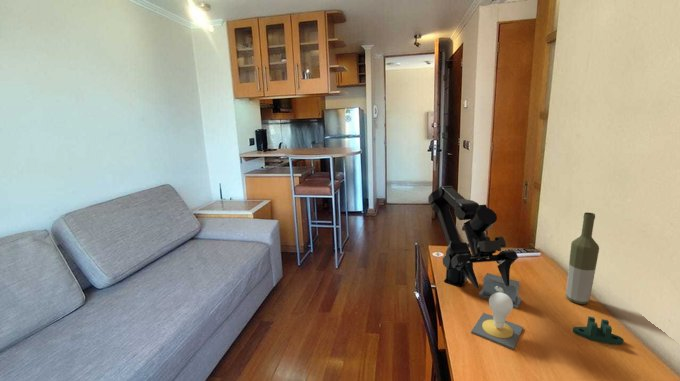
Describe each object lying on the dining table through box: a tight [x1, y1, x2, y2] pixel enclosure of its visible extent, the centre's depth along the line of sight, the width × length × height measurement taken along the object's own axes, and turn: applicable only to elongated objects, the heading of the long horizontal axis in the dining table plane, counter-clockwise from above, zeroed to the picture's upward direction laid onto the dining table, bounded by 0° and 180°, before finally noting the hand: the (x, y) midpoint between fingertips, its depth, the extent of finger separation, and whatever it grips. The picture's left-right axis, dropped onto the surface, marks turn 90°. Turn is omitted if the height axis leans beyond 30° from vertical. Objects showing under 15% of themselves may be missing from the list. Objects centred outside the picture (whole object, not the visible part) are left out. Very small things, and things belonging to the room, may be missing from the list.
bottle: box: [565, 211, 600, 305], centre depth 100 cm, size 7×7×30 cm
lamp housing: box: [478, 272, 523, 309], centre depth 105 cm, size 12×6×7 cm, turn 49°
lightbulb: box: [488, 292, 514, 329], centre depth 89 cm, size 6×6×11 cm
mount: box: [572, 316, 624, 346], centre depth 86 cm, size 11×4×5 cm, turn 62°
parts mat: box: [470, 312, 524, 351], centre depth 90 cm, size 11×11×1 cm
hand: (492, 287), depth 91 cm, fingers open, 9 cm apart
